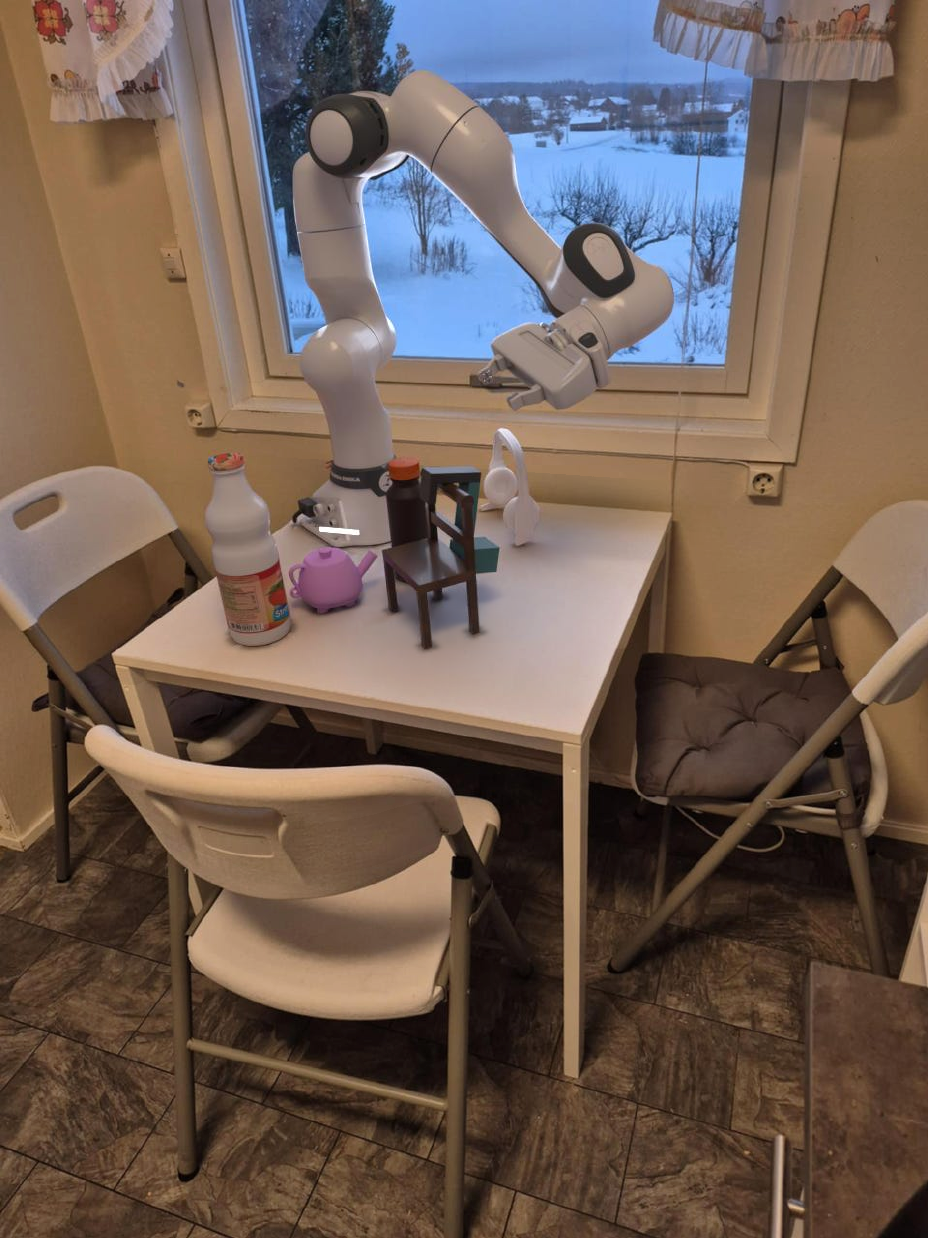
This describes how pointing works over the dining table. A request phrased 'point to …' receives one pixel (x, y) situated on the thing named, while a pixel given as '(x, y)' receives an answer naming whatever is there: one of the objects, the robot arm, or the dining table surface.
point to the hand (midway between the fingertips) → (494, 391)
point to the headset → (511, 489)
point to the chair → (436, 562)
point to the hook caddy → (471, 484)
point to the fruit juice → (245, 556)
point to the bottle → (405, 503)
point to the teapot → (329, 578)
